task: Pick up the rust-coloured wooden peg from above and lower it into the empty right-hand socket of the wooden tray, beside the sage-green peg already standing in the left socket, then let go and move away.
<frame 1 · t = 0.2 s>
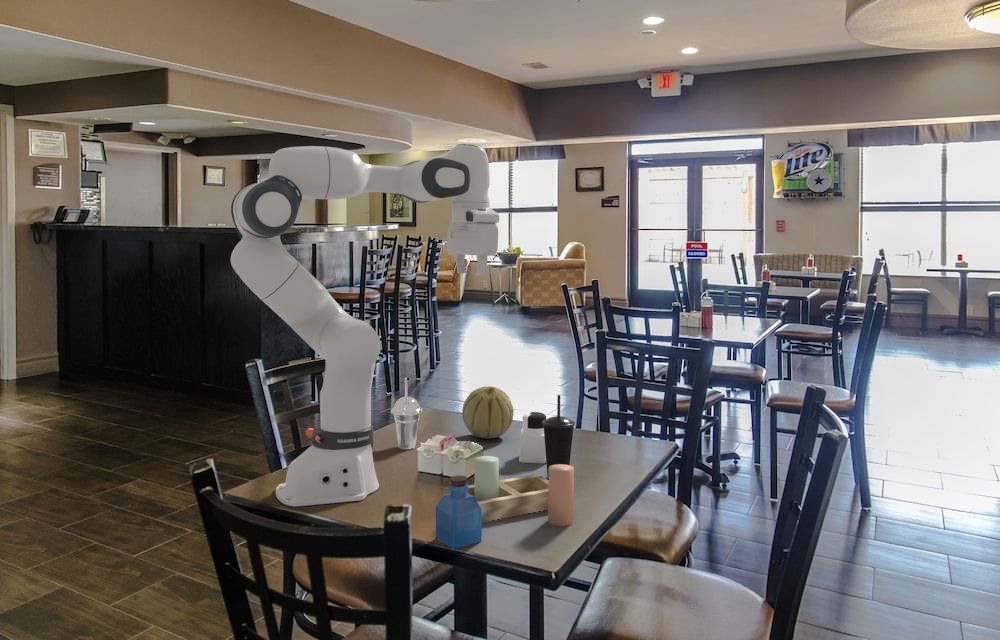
hand: (470, 274, 179), 48 cm above the table, tool pointing down, fingers open, 8 cm apart
drinking cup: (557, 479, 178), on the table
green peg: (486, 510, 157), resting in wooden tray
cup with straw: (406, 448, 203), on the table
cantaloupe: (487, 438, 214), on the table
wooden tray: (507, 506, 159), on the table
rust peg: (560, 521, 151), on the table
perfume bottle: (458, 541, 142), on the table
medicine bottle: (534, 460, 193), on the table
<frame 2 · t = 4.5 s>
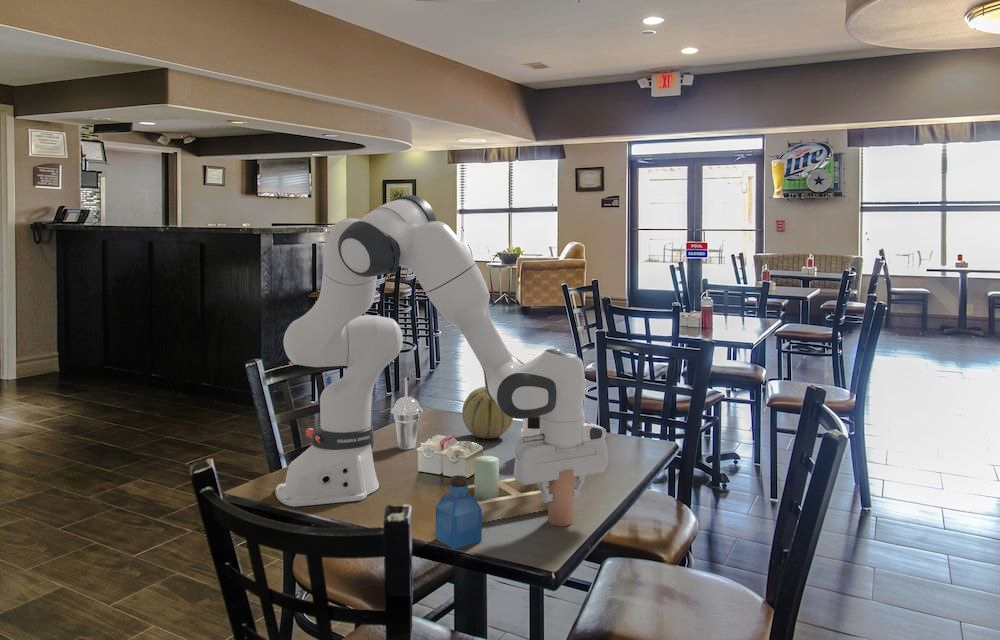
hand: (560, 499, 151), 5 cm above the table, tool pointing down, fingers closed on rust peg, 5 cm apart
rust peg: (560, 521, 151), on the table, touching gripper
everything else where it was.
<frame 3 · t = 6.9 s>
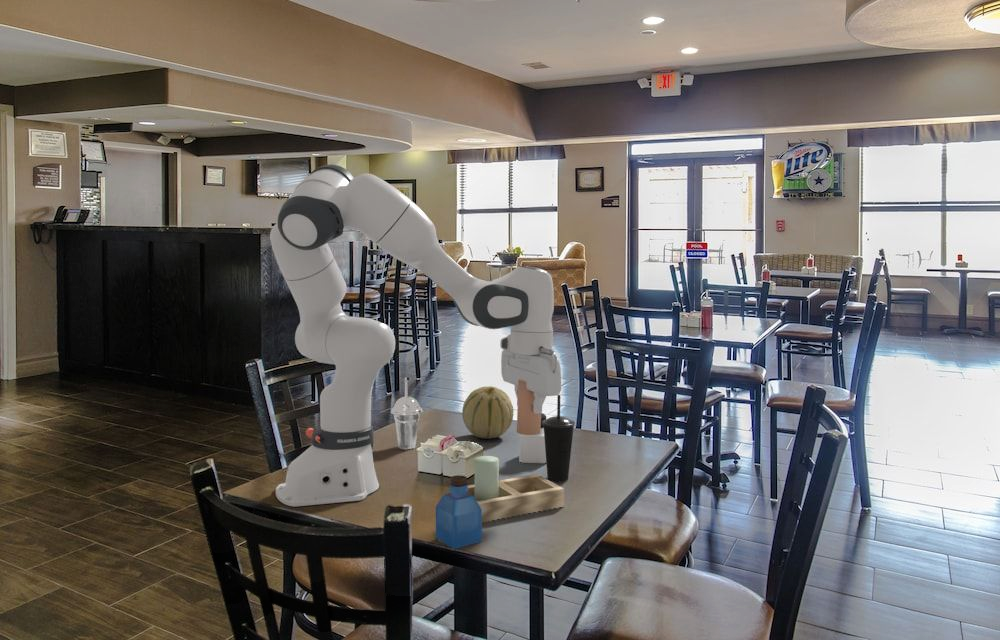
hand: (529, 409, 158), 20 cm above the table, tool pointing down, fingers closed on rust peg, 5 cm apart
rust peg: (528, 432, 159), point 16 cm above the table, touching gripper
everything else where it was.
when the fingers open (6 cm above the table, at t = 9.5 s): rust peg drops 1 cm, resting in wooden tray.
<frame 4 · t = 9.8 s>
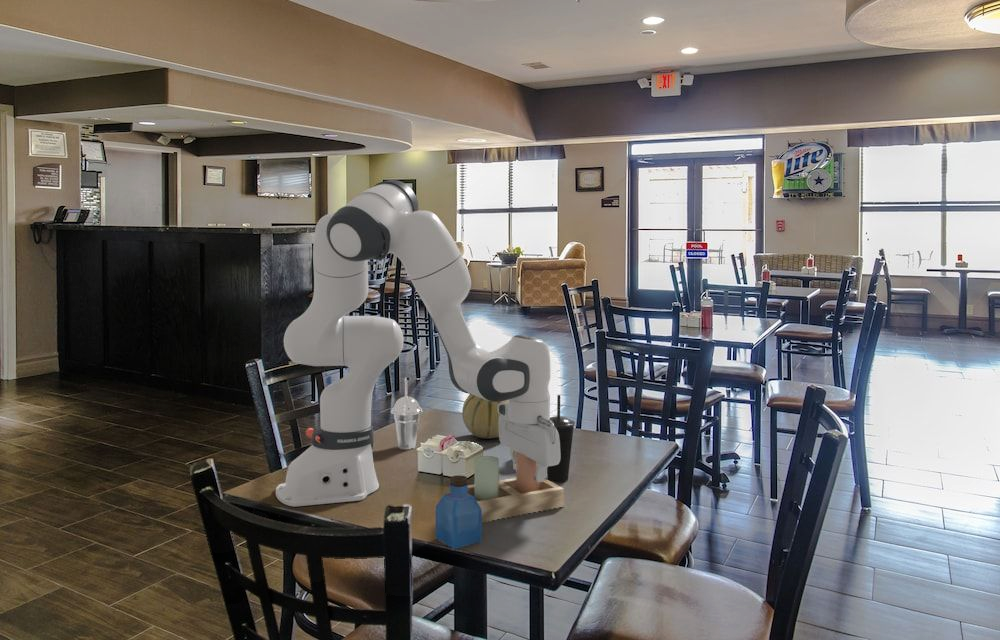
hand: (528, 475, 161), 6 cm above the table, tool pointing down, fingers open, 7 cm apart
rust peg: (527, 503, 161), resting in wooden tray
everything else where it was.
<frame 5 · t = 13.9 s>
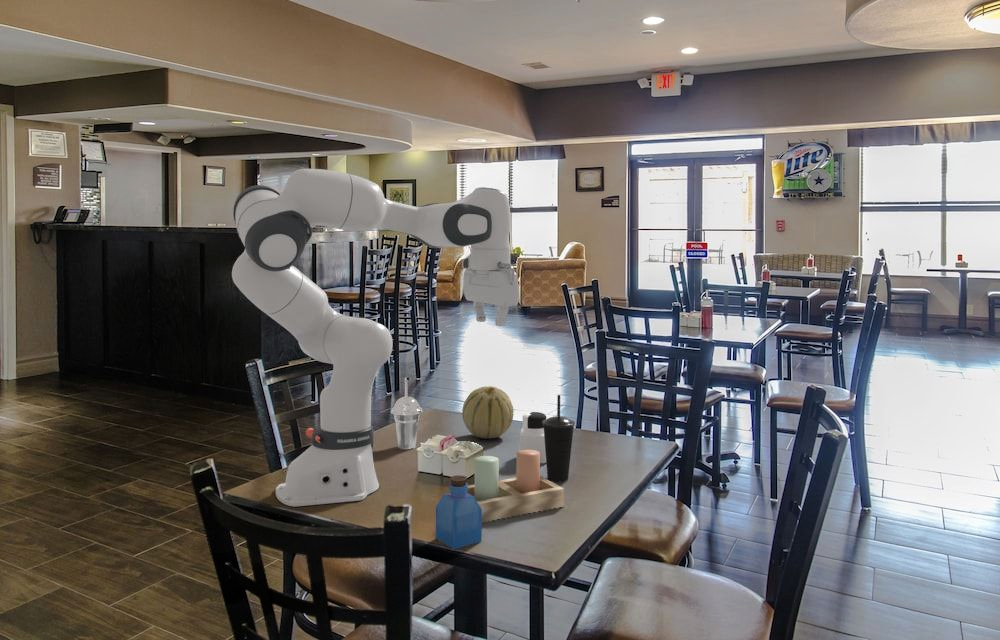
hand: (490, 323, 170), 37 cm above the table, tool pointing down, fingers open, 8 cm apart
nothing on the table moved.
at the end: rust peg 0.1 cm from the target spot on the wooden tray, point 0.0 cm above the wooden tray's base; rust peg tilted 0°; the gripper is holding nothing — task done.
